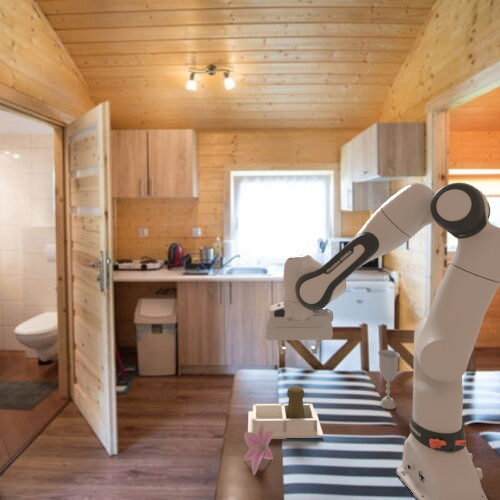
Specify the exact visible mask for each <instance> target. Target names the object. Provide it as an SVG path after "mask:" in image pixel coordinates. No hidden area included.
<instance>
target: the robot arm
mask: <svg viewBox="0 0 500 500" xmlns="http://www.w3.org/2000/svg"><path fill="white" fill-rule="evenodd" d="M490 216H491V207H490V203H489V201H488V199H487V197H486V196H485V194H484V193H483V192H482V191H481V190H480V189H478V188H476V187H475V186H474V185H472V184H470V183H469V184H468V183H466V182H452V183H449V184H446V185H444V186H443V187H441V188H440V189H438V190H437V191H436V192H435V191H434V190H432V189H431V188H430V187H429V186H428V185H425V184H422V183H417V182H414V183H410V184H408V185H407V186H405V187H403V188H402V189H400V190H399V191H398V192H396V193H395V194H394V195H393V196H391V197H389V198H388V199H387V200H386V201H385V202H384V203H383V204H381V205H380V206H379V208H378V209H376V210H375V211H374V213H373V214H371V216H370V217H369V218H368V219H367V220H366V222H365V223H364V224H363V225H362V227H361V228H360V229H359V230H358V231H357V233H356V234H355V235H354V236H353V237H352V238H351V239H350V241H349V242H348V243H347V244H346V245H345V246H344V247H342V249H341V250H340V251H338V252H337V253H336V254H335V255H334V256H333V257H331V258H330V259H329V260H328V261H327V262H326V263H324V264H323V263H322V262H319V260H318V261H317V260H316V259H314V257H312V255H310V254H301V255H295V256H291V257H289V258H287V259H286V260H285V262H284V267H283V277H282V278H283V288H284V294H283V295H284V296H283V301H281V302H278V303H275V304H271V305H270V306H269V308H268V316H267V317H266V321H265V328H264V329H265V330H264V335H265V336H264V337H265V339H266V340H267V341H276V344H277V346H278V347H279V349H280V355H286V353H287V352H286V349H287V347H286V346H283V345H282V343H283V342H282V341H315V344H314V346H311V350H310V351H311V354H312V355H313V354H314V355H315V354H316V355H317V354H318V348H319V347H320V345H321V343H322V341H324V340H325V341H326V340H327V341H328V340H329V341H330V340H331V339H332V338H334V337H333V336H334V331H333V324H332V322H334V313H333V311H332V310H331V309H329V308H327V306H328V305H329V304H330V303H332V302H333V301H335V300H337V299H338V298H340V297H341V296H342V295H343V294H344V293H345V292H346V291H345V290H346V288H347V279H348V278H349V277H350V276H351V275H352V274H353V273H355V272H356V271H357V270H358V269H359V268H360V267H362V266H363V265H365V264H367V263H369V262H370V261H372V260H375V259H377V258H380V257H382V256H386V255H388V254H389V253H391V252H393V251H395V250H396V249H398V248H399V247H402V246H403V245H405V243H407V242H408V241H410V240H411V239H412V237H414V236H415V235H416V234H418V232H420V231H421V230H422V229H423V228H425V227H427V226H428V225H431V224H436V225H438V226H439V227H441V228H442V229H443V230H444V231H446V232H448V233H449V234H450V235H452V236H453V237H454V238H455V239H457V246H456V250H455V252H454V254H453V255H452V258H451V260H450V262H449V265H448V266H447V269H446V270H445V273H444V275H443V276H442V279H441V281H440V283H439V285H438V288H437V289H436V292H435V294H434V295H435V296H434V299H433V301H432V304H431V307H430V310H429V312H428V315H427V316H425V317H423V318H422V319H421V320H420V321H419V322H418V323H417V325H416V327H415V329H414V331H413V376H412V377H413V378H412V381H413V382H412V385H413V386H412V413H411V415H410V419H409V432H410V434H409V436H408V437H407V438H406V439H405V441H403V450H402V461H401V462H402V463H401V465H400V466H398V467H397V469H396V471H395V472H396V473H397V474H396V473H395V474H396V476H397V475H398V476H399V477H400V478H401V479H400V478H399V477H398V476H397V477H398V478H399V479H400V481H401V482H402V481H403V482H404V483H405V484H406V485H407V487H408V488H409V489H410V490H411V491H410V490H409V489H408V488H407V487H406V488H407V489H408V490H409V491H410V493H411V492H412V493H413V494H412V493H411V494H412V495H413V496H414V497H415V499H416V498H417V499H418V500H489V499H488V498H487V495H486V493H485V492H484V489H483V487H482V484H481V480H483V477H484V476H483V471H482V468H480V467H475V465H474V463H473V457H474V456H473V454H472V453H471V452H469V450H468V448H467V440H466V431H465V427H464V424H463V411H464V410H463V406H464V405H463V404H464V390H463V388H464V386H463V376H464V374H465V373H466V371H467V368H468V366H469V361H470V358H471V357H472V356H471V355H472V354H473V351H474V348H475V345H476V342H477V341H478V337H479V334H480V331H481V328H482V326H483V325H482V324H483V321H484V318H485V316H486V313H487V312H488V309H489V307H490V306H491V303H492V301H493V299H494V297H495V295H496V293H497V291H498V289H499V287H500V227H498V226H496V225H493V224H492V223H491V222H490V221H489V219H490ZM403 482H402V483H403ZM404 483H403V484H404ZM405 484H404V485H405ZM406 485H405V486H406ZM417 499H416V500H417Z"/></svg>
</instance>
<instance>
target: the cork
mask: <svg viewBox="0 0 500 500" xmlns="http://www.w3.org/2000/svg"><path fill="white" fill-rule="evenodd" d="M286 396H287V397H288V402H287V404H288V410H287V418H286V419H305V414H304V406H303V404H304V402H303V401H304V400H303V399H304V398H305V390H304V388H302V387H301V386H299V385H292V386H290V387H288V389H287V390H286Z"/></svg>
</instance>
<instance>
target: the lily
mask: <svg viewBox="0 0 500 500" xmlns="http://www.w3.org/2000/svg"><path fill="white" fill-rule="evenodd" d="M275 431H276V430H275V429H270V430H267V431H264V424H263V421H262V422H261V424H260V426H259V429H258V431H257V434H256V433H253V432H248V431H246V432H245V433H243V436H244V440H245V443H246V445H247V447H248V448H249V449H248V450H247V452H246V453H245V455H244V458H243V461H250V460H251V461H250V466H251V472H252V475H254V476H256V474H257V471H258V468H259V466H260V463H261V462H262V459H265V460H274V455H273V452H272V451H271V449H270V446H269V444H270V442H271V440H273V439H272V437H273V435H274V433H275Z"/></svg>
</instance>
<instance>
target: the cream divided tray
mask: <svg viewBox="0 0 500 500" xmlns="http://www.w3.org/2000/svg"><path fill="white" fill-rule="evenodd" d="M303 406H304V414H305V419H286V418H287V410H288V403H253V404H252V410H249V411H248V414H247V416H248V418H247V432H253V433H256V434H257V431H258V429H259V426H260V424H261V422H262V421H263V424H264V431H267V430H270V429H275V430H276V431H275V433H274V435H273V437H272V439H271V440H287V439H286V438H306V437H307V438H308V437H310V438H311V437H313V438H314V437H323V438H324V433H323V429H322V426H321V424H320V423H321V422H320V420H319V416H318V412H317V410H315V409H314V405H313V403H303Z"/></svg>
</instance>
